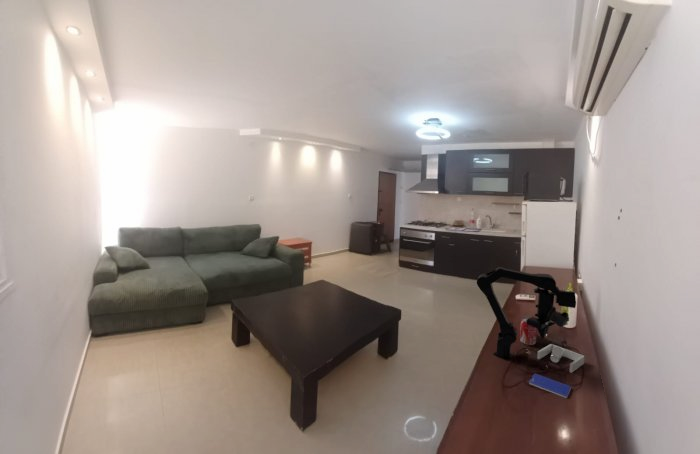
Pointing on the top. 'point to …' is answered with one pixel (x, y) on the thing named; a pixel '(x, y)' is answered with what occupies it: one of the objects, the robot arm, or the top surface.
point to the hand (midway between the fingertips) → (542, 337)
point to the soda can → (527, 333)
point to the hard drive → (550, 385)
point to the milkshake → (556, 354)
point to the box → (567, 353)
